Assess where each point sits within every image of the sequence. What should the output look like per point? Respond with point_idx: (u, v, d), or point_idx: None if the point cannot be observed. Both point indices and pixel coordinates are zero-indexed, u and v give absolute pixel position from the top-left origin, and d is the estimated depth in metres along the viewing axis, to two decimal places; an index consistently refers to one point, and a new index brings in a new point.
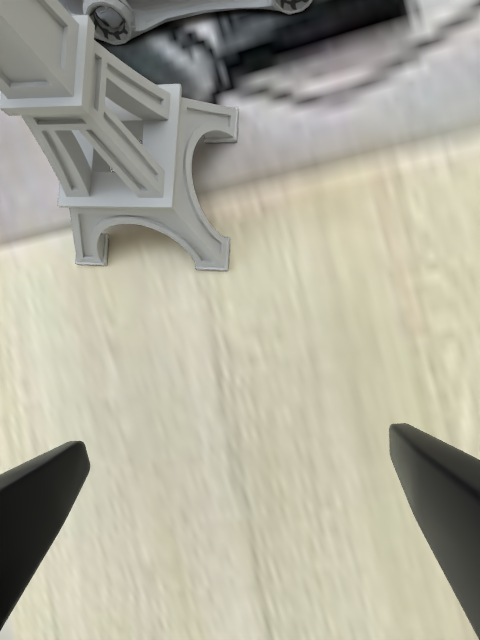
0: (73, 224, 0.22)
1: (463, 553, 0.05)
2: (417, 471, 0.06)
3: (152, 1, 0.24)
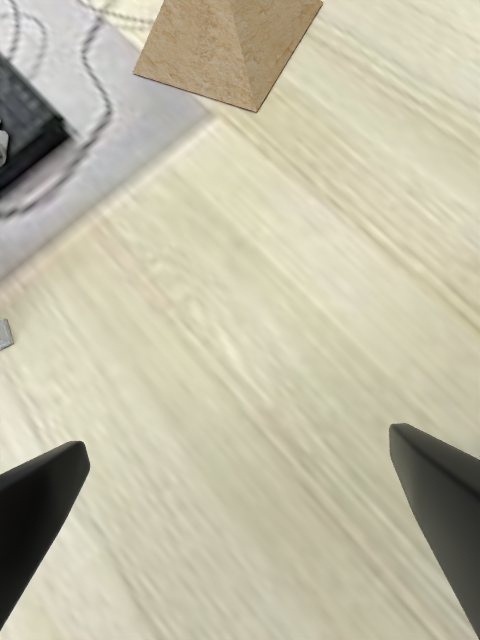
0: None
1: (463, 553, 0.05)
2: (417, 471, 0.06)
3: None
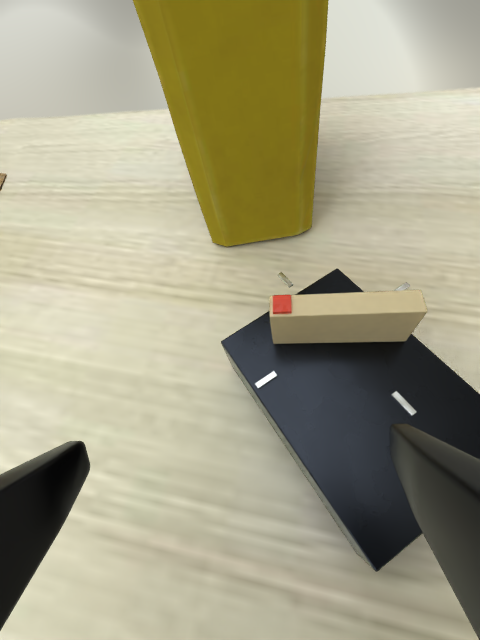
0: None
1: (463, 553, 0.05)
2: (417, 471, 0.06)
3: None
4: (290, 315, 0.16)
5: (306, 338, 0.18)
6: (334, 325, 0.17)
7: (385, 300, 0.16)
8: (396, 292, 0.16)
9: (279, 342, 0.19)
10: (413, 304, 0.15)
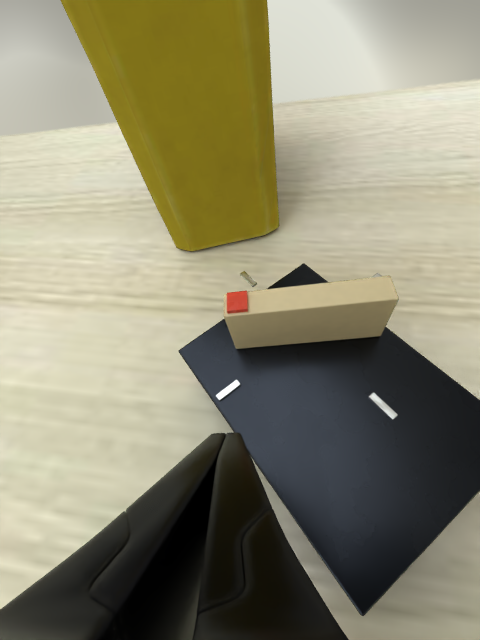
0: None
1: None
2: None
3: None
4: (247, 314, 0.14)
5: (270, 339, 0.16)
6: (298, 322, 0.15)
7: (351, 289, 0.14)
8: (362, 280, 0.14)
9: (242, 347, 0.17)
10: (382, 292, 0.14)
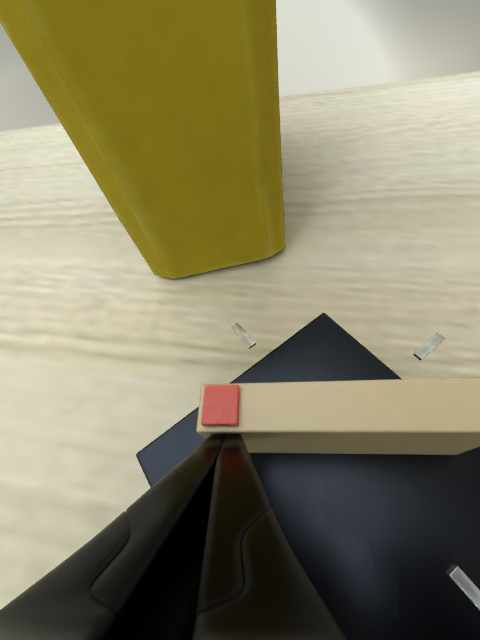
0: None
1: None
2: None
3: None
4: (237, 431, 0.08)
5: (276, 449, 0.10)
6: (325, 441, 0.09)
7: (426, 401, 0.08)
8: (446, 383, 0.08)
9: None
10: None
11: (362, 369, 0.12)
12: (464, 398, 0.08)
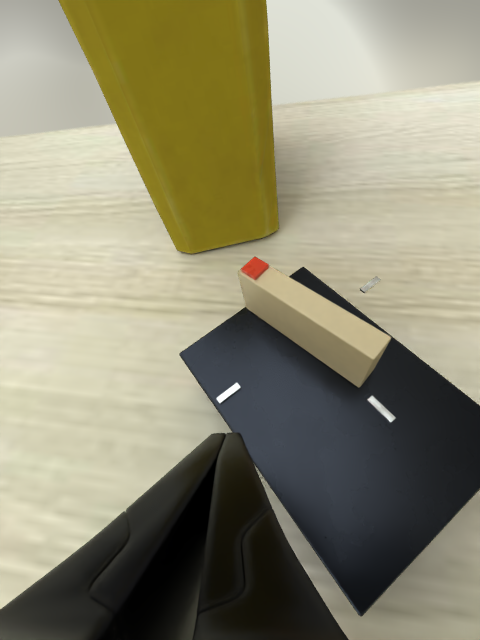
0: None
1: None
2: None
3: None
4: (253, 281, 0.15)
5: (270, 319, 0.17)
6: (289, 319, 0.15)
7: (344, 322, 0.13)
8: (362, 323, 0.13)
9: (250, 309, 0.19)
10: (367, 344, 0.13)
11: None
12: (363, 333, 0.13)
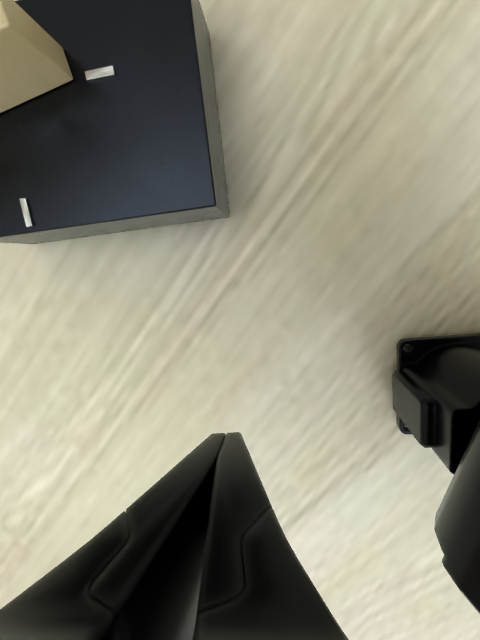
0: None
1: None
2: None
3: None
4: None
5: None
6: None
7: None
8: None
9: None
10: None
11: None
12: None
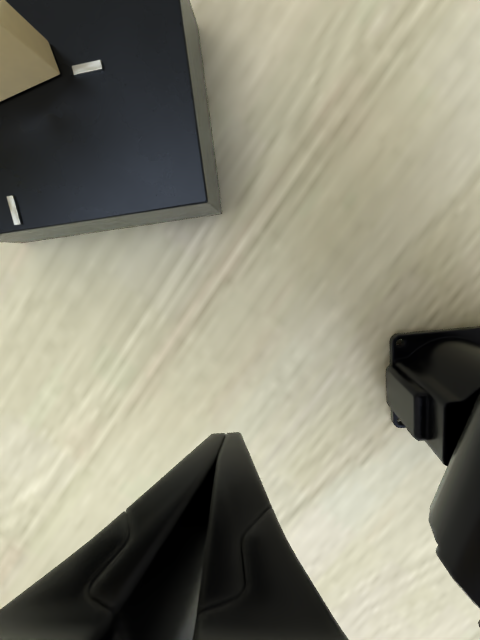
0: None
1: None
2: None
3: None
4: None
5: None
6: None
7: None
8: None
9: None
10: None
11: None
12: None
